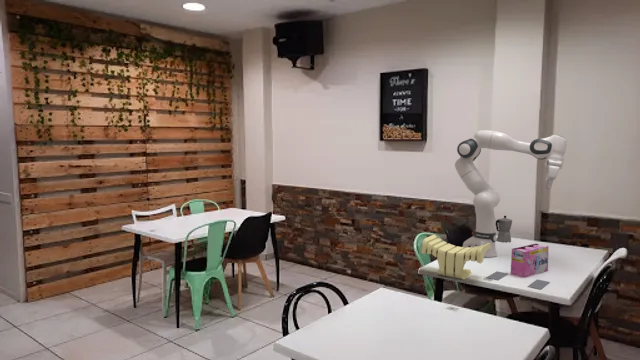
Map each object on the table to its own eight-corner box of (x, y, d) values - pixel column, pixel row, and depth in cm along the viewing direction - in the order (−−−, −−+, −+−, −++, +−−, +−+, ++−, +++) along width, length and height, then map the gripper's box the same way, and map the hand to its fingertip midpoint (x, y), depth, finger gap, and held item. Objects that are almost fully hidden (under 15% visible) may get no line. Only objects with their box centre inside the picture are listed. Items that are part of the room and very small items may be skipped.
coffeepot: (505, 239, 317) (506, 214, 315) (516, 241, 309) (517, 216, 307) (489, 240, 310) (490, 215, 309) (500, 243, 302) (501, 217, 300)
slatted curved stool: (421, 273, 233) (422, 239, 231) (432, 266, 246) (433, 234, 244) (479, 284, 216) (481, 248, 214) (488, 276, 228) (490, 242, 227)
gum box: (535, 267, 247) (536, 243, 246) (549, 270, 240) (551, 245, 239) (509, 273, 234) (511, 248, 232) (524, 277, 227) (525, 251, 226)
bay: (485, 277, 226) (485, 277, 226) (496, 271, 237) (496, 271, 237) (540, 289, 209) (540, 289, 209) (550, 282, 220) (550, 281, 220)
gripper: (545, 165, 259) (540, 188, 259) (549, 160, 240) (543, 185, 240) (557, 167, 257) (552, 190, 256) (562, 162, 238) (556, 188, 238)
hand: (548, 188), depth 248 cm, fingers open, 8 cm apart
